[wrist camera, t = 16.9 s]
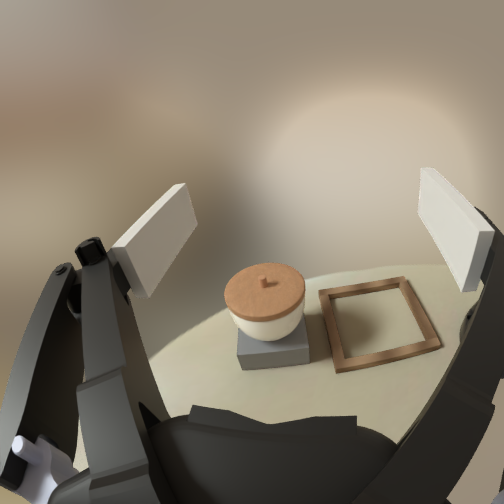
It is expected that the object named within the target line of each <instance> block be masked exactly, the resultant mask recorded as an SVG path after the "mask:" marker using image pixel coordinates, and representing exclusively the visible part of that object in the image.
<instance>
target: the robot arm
mask: <svg viewBox="0 0 504 504" xmlns="http://www.w3.org/2000/svg"><path fill="white" fill-rule="evenodd" d="M418 215H419V216H420V218H421V220H422V221H423V222H424V224H425V226H426V227H427V229H428V231H429V232H430V234H431V236H432V238H433V239H434V241H435V243H436V244H437V246H438V248H439V250H440V252H441V253H442V255H443V257H444V259H445V260H446V263H447V264H448V266H449V268H450V270H451V272H452V274H453V276H454V278H455V280H456V282H457V284H458V286H459V288H460V290H461V292H470V291H476V290H477V287H478V284H479V281H480V279H481V280H482V282H483V284H484V288H483V290H482V293H481V295H480V298H479V300H478V301H477V302H476V303H475V304H474V305H473V306H472V308H471V309H470V310H469V311H468V313H467V314H466V316H465V319H464V321H463V323H462V325H461V329H460V345H459V347H458V349H457V351H456V353H455V355H454V357H453V359H452V361H451V363H450V365H449V366H448V368H447V370H446V372H445V374H444V375H443V377H442V379H441V381H440V382H439V384H438V386H437V387H436V389H435V391H434V392H433V394H432V396H431V397H430V399H429V400H428V402H427V404H426V405H425V407H424V408H423V410H422V411H421V413H420V414H419V416H418V417H417V418H416V420H415V421H414V423H413V424H412V425H411V427H410V428H409V429H408V431H407V432H406V433H405V434H404V436H403V437H402V438H401V440H400V441H399V442H398V443H397V444H396V443H394V442H393V441H392V440H391V439H389V438H388V437H386V436H385V435H383V434H381V433H379V432H377V431H374V430H372V429H369V428H365V427H361V426H357V416H327V417H317V416H315V417H310V418H305V419H300V420H295V421H289V422H283V423H277V424H265V423H262V422H259V421H256V420H253V419H251V418H248V417H245V416H242V415H240V414H237V413H234V412H232V411H229V410H222V409H215V408H208V407H202V406H197V405H192V408H191V411H190V414H189V415H182V416H177V417H173V418H171V417H170V416H169V414H168V412H167V410H166V408H165V405H164V403H163V400H162V397H161V395H160V392H159V390H158V387H157V384H156V382H155V379H154V376H153V373H152V370H151V367H150V365H149V362H148V359H147V356H146V353H145V349H144V346H143V343H142V340H141V337H140V333H139V330H138V327H137V323H136V320H135V316H134V312H133V308H132V305H131V301H130V299H129V296H128V295H127V292H128V291H129V289H130V288H131V289H132V291H133V293H134V295H135V297H136V298H150V296H151V295H152V293H153V291H154V290H155V288H156V287H157V285H158V284H159V282H160V280H161V279H162V277H163V276H164V274H165V273H166V271H167V270H168V268H169V266H170V265H171V263H172V262H173V260H174V259H175V257H176V256H177V254H178V253H179V251H180V250H181V248H182V246H183V245H184V244H185V242H186V241H187V239H188V238H189V236H190V235H191V233H192V232H193V231H194V229H195V228H196V226H197V225H198V224H197V220H196V217H195V213H194V210H193V207H192V203H191V199H190V196H189V192H188V189H187V185H186V183H183V184H176V185H174V186H173V187H172V188H170V189H169V190H168V191H167V192H166V193H165V194H164V195H163V196H162V197H161V198H160V199H159V200H158V201H157V202H156V203H155V204H154V205H153V206H151V207H150V208H149V209H148V210H147V211H146V212H145V213H144V214H143V215H142V216H141V217H140V218H139V219H138V220H137V221H136V222H135V223H134V224H133V225H132V226H131V227H130V228H129V229H128V231H126V233H124V235H123V236H122V237H121V238H120V239H119V240H118V241H117V242H116V243H115V244H114V245H113V246H112V247H111V249H110V250H109V251H108V252H107V253H106V251H105V249H104V247H103V244H102V242H101V240H100V238H99V237H93V238H90V239H87V240H86V241H84V242H82V243H81V244H80V245H78V247H77V248H76V249H75V253H76V255H77V257H78V259H79V261H80V263H81V265H82V269H79V270H76V271H75V270H74V267H73V266H72V264H71V263H64V264H61V265H59V266H57V267H56V269H55V270H54V271H53V272H52V274H51V275H50V277H49V279H48V281H47V283H46V285H45V287H44V289H43V291H42V293H41V296H40V298H39V300H38V302H37V304H36V307H35V309H34V311H33V313H32V316H31V318H30V321H29V323H28V325H27V328H26V330H25V333H24V336H23V338H22V341H21V344H20V347H19V349H18V352H17V355H16V358H15V361H14V364H13V367H12V370H11V374H10V377H9V380H8V384H7V387H6V391H5V395H4V399H3V403H2V407H1V411H0V486H2V487H4V488H6V489H8V490H10V491H11V492H14V493H16V494H18V495H20V496H22V497H24V498H25V499H26V500H27V501H29V502H30V503H31V504H451V503H450V502H449V501H448V500H447V499H446V498H447V497H448V495H449V494H450V492H451V491H452V489H453V488H454V486H455V485H456V483H457V482H458V480H459V479H460V477H461V475H462V474H463V472H464V471H465V469H466V467H467V466H468V464H469V462H470V460H471V459H472V457H473V455H474V453H475V451H476V450H477V448H478V446H479V444H480V442H481V440H482V438H483V436H484V433H485V432H486V430H487V428H488V425H489V423H490V421H491V418H492V416H493V413H494V410H495V405H493V404H492V399H493V396H494V394H495V391H496V389H497V386H498V384H499V381H500V379H503V378H504V235H503V234H502V233H501V232H500V230H499V229H498V228H497V227H496V226H495V225H494V224H493V223H492V221H491V220H490V219H488V217H487V216H486V215H485V214H484V213H483V212H482V211H480V210H479V209H478V208H476V207H473V206H472V205H471V204H470V203H469V202H468V201H467V199H466V198H465V197H464V196H463V195H462V194H460V192H459V191H457V189H456V188H455V187H453V186H452V185H451V184H450V183H449V182H448V181H447V180H446V179H445V178H444V177H443V176H442V175H441V174H440V173H438V172H437V171H436V170H435V169H434V168H426V167H422V168H421V179H420V194H419V205H418ZM68 307H69V308H68ZM69 309H70V310H69ZM84 368H85V377H86V382H84V383H82V382H83V375H84ZM79 418H80V425H81V431H82V436H83V442H84V447H85V452H86V456H87V461H88V465H89V467H88V468H87V469H85V470H83V471H82V472H80V473H79V471H78V470H77V469H75V468H73V462H74V458H75V453H76V447H77V437H78V422H79ZM491 504H504V470H503V475H502V480H501V485H500V490H499V494H498V495H497V496H496V497H495V498H494V499H493V501H492V503H491Z"/></svg>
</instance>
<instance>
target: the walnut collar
mask: <svg viewBox="0 0 504 504" xmlns="http://www.w3.org/2000/svg"><path fill="white" fill-rule="evenodd" d="M397 287H399V288H400V290H401V292H402V294H403V296H404V297H405V299H406V301H407V303H408V305H409V307H410V309H411V311H412V313H413V315H414V317H415V319H416V321H417V323H418V325H419V327H420V329H421V331H422V333H423V335H424V338H425V340H426V341H422V342H418V343H415V344H411V345H407V346H403V347H399V348H395V349H391V350H386V351H382V352H377V353H373V354H368V355H363V356H358V357H352V358H347V359H345V358H344V354H343V350H342V345H341V341H340V337H339V333H338V329H337V326H336V322H335V318H334V314H333V310H332V307H331V303H330V299H334V298H340V297H347V296H353V295H359V294H364V293H370V292H376V291H381V290H387V289H392V288H397ZM319 299H320V303H321V307H322V311H323V316H324V320H325V324H326V329H327V333H328V338H329V343H330V347H331V352H332V357H333V362H334V367H335V372H336V373H342V372H347V371H352V370H358V369H363V368H367V367H372V366H377V365H381V364H385V363H390V362H394V361H398V360H402V359H406V358H409V357H413V356H417V355H420V354H424V353H427V352H431V351H434V350H437V349H439V347H440V345H441V344H440V342H439V339H438V337H437V335H436V333H435V331H434V329H433V328H432V326H431V324H430V322H429V320H428V318H427V316H426V314H425V312H424V310H423V309H422V307H421V305H420V303H419V301H418V300H417V298H416V296H415V294H414V292H413V291H412V289H411V287H410V286H409V284H408V282H407V280H406V279H405V277H404V276H401V277H396V278H390V279H385V280H379V281H373V282H367V283H361V284H355V285H349V286H343V287H336V288H330V289H323V290H319Z"/></svg>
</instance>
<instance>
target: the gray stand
mask: <svg viewBox="0 0 504 504" xmlns="http://www.w3.org/2000/svg"><path fill="white" fill-rule="evenodd" d="M237 357H238V360H239V363H240V365H241V368H242V370H253V369H265V368H275V367H284V366H293V365H301V364H308V363H310V357H309V344H308V337H307V331H306V324H305V318H304V312H303V316H302V318H301V320H300V322H299V324H298V326H297V327H296V328H295V329H294V330H293V331H292V332H291V333H290V334H288V335H287V336H285V337H283V338H281V339H279V340H276V341H261V340H257V339H254V338H252V337H250V336H248V335H246V334H245V333H244V332H243V331H241V330H240V328H238V344H237Z"/></svg>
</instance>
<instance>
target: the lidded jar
mask: <svg viewBox="0 0 504 504" xmlns="http://www.w3.org/2000/svg"><path fill="white" fill-rule="evenodd" d="M224 295H225V296H224V297H225V301H226V304H227V306H228V308H229V311H230V313H231V316H232V318H233V320H234V321H235V323H236V325H237V326H238V327H239V328H240V330H241V331H243V332H244V333H245V334H246V335H248V336H250V337H252V338H254V339H257V340H261V341H276V340H279V339H281V338H283V337H285V336H287V335H288V334H290V333H291V332H292V331H293V330H294V329H295V328H296V327H297V326H298V324H299V322H300V320H301V318H302V316H303V312H304V307H305V281H304V278H303V277H302V275H301V274H300V273H299V272H298V271H297V270H296V269H294V268H292V267H290V266H288V265H284V264H280V263H262V264H257V265H254V266H251V267H248V268H246V269H244V270H242V271H240V272H239V273H237V274H236V275H235V276H234V277H233V278H232V279H231V280H230V281H229V282H228V284H227V286H226V288H225V292H224Z"/></svg>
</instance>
